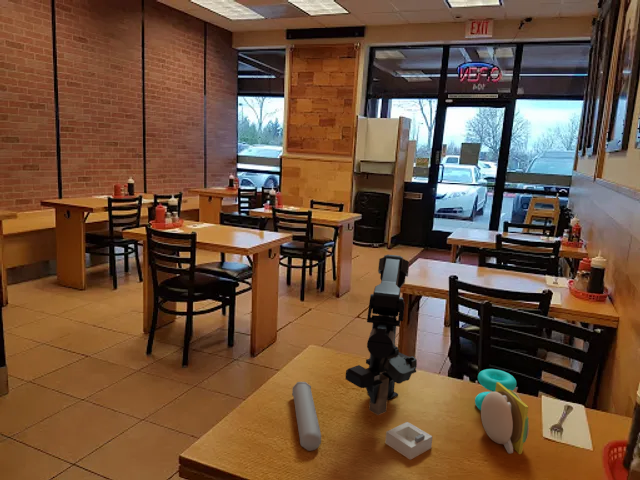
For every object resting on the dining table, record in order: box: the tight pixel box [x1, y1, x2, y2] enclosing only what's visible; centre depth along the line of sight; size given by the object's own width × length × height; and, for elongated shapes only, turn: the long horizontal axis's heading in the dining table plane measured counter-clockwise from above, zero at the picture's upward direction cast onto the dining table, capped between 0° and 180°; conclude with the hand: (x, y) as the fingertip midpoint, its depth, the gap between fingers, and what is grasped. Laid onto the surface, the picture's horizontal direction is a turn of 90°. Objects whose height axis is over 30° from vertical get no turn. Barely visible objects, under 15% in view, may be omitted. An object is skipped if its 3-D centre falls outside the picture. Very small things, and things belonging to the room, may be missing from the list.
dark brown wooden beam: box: [368, 374, 389, 416], centre depth 117 cm, size 3×3×9 cm
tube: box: [291, 381, 322, 452], centre depth 120 cm, size 5×5×25 cm
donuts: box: [474, 368, 517, 411], centre depth 131 cm, size 10×10×10 cm
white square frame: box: [385, 421, 433, 461], centre depth 112 cm, size 8×8×4 cm
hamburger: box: [480, 382, 530, 455], centre depth 116 cm, size 12×8×12 cm
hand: (378, 401), depth 118 cm, fingers closed on dark brown wooden beam, 3 cm apart
